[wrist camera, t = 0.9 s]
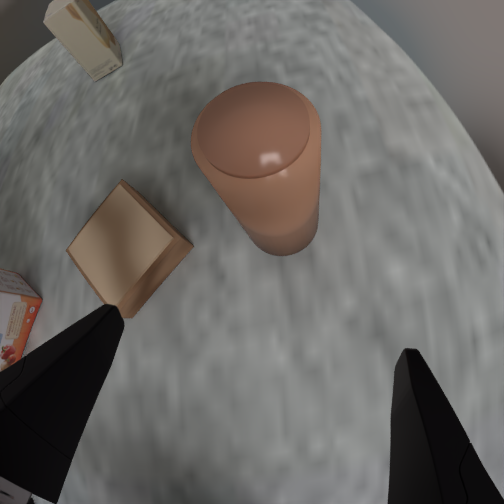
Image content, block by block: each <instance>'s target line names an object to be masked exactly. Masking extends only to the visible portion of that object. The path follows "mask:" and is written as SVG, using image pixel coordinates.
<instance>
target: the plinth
mask: <svg viewBox="0 0 504 504" xmlns="http://www.w3.org/2000/svg"><path fill="white" fill-rule="evenodd" d="M193 247H194V246H193V245H192V244H191V243H190V242H189V241H188V240H187V239H186V238H185V237H184V236H183V235H182V234H181V233H180V232H179V231H178V230H177V229H175V228H174V227H173V226H172V225H171V224H170V223H169V222H168V221H167V220H166V219H165V218H164V217H163V216H162V215H161V214H160V213H159V212H158V211H157V210H156V209H155V208H154V207H153V206H152V205H151V204H150V203H149V202H148V201H147V200H146V199H145V198H144V197H143V196H142V195H141V194H140V193H139V192H138V191H137V190H135V189H134V188H133V187H131V186H130V185H129V184H128V183H126V182H125V181H124V180H123V179H122V180H121V181H120V182H119V183H118V185H117V186H116V187H115V188H114V189H113V190H112V192H111V193H110V194H109V195H108V196H107V198H106V199H105V200H104V201H103V202H102V204H101V205H100V206H99V207H98V209H97V210H96V211H95V212H94V214H93V215H92V216H91V217H90V219H89V220H88V221H87V223H86V224H85V225H84V226H83V228H82V229H81V230H80V232H79V233H78V234H77V236H76V237H75V238H74V240H73V241H72V243H71V244H70V245H69V247H68V248H67V249H66V252H67V253H68V255H69V256H70V257H71V259H72V260H73V262H74V263H75V265H76V266H77V268H78V269H79V271H80V272H81V273H82V275H83V276H84V278H85V279H86V280H87V282H88V283H89V285H90V286H91V287H92V289H93V290H94V291H95V293H96V294H97V295H98V297H99V298H100V299H101V301H102V302H103V303H104V304H112V305H116V306H117V307H118V309H119V311H120V313H121V316H122V318H133V317H134V316H135V314H136V313H137V312H138V311H139V310H140V308H141V307H142V306H143V305H144V304H145V302H146V301H147V300H148V299H149V298H150V296H151V295H152V294H153V293H154V292H155V291H156V289H157V288H158V287H159V286H160V285H161V284H162V282H163V281H164V280H165V279H166V278H167V277H168V275H169V274H170V273H171V272H172V271H173V270H174V268H175V267H176V266H177V265H178V264H179V263H180V262H181V260H182V259H183V258H184V257H185V256H186V255H187V254H188V252H189V251H190V250H191V249H192V248H193Z"/></svg>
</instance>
